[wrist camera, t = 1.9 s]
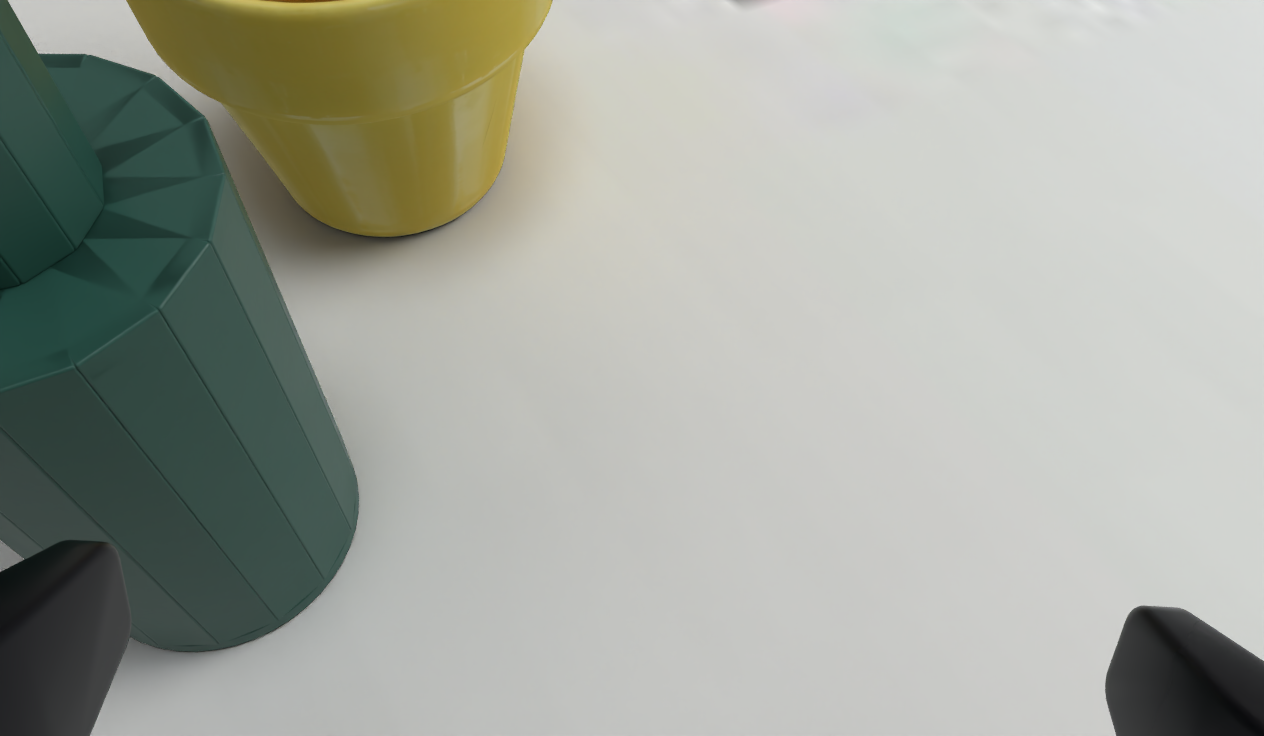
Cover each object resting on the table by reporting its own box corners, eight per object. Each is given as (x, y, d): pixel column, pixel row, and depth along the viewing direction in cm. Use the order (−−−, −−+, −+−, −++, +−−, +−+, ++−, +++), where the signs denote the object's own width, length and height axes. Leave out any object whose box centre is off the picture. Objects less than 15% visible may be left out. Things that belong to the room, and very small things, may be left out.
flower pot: (196, 307, 28) (33, 17, 20) (232, 45, 34) (117, -270, 25) (575, 285, 29) (572, -1, 21) (552, 33, 34) (542, -275, 26)
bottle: (185, 714, 23) (-325, 346, 10) (22, 520, 25) (-570, 13, 12) (415, 513, 25) (247, 18, 13) (250, 354, 28) (-37, -207, 15)
